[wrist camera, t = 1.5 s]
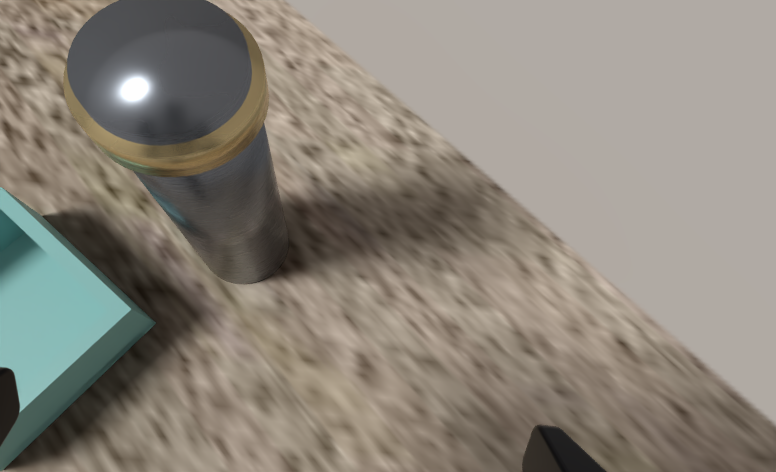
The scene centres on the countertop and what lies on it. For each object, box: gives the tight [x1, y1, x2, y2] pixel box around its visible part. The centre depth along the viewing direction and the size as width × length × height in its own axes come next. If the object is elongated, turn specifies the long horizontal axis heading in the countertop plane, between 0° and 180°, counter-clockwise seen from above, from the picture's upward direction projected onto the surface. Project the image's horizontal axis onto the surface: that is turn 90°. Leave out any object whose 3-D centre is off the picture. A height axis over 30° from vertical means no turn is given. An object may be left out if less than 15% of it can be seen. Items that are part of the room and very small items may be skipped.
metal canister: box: [63, 0, 289, 284], centre depth 18 cm, size 5×5×13 cm
